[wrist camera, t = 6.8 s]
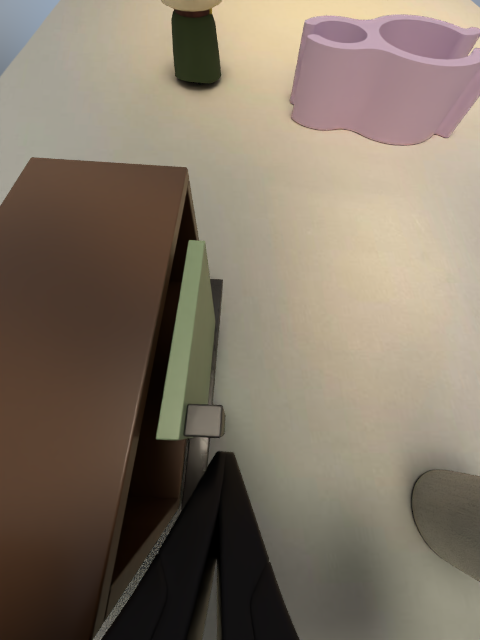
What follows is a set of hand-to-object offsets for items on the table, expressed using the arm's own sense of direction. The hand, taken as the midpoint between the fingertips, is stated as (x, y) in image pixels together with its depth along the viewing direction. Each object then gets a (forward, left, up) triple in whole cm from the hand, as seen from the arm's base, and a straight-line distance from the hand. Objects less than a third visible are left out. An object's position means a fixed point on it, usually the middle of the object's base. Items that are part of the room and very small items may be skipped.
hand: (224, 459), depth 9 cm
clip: (+41, +10, -7) cm, 43 cm away
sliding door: (+3, +3, -6) cm, 8 cm away
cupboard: (0, +8, -7) cm, 10 cm away
